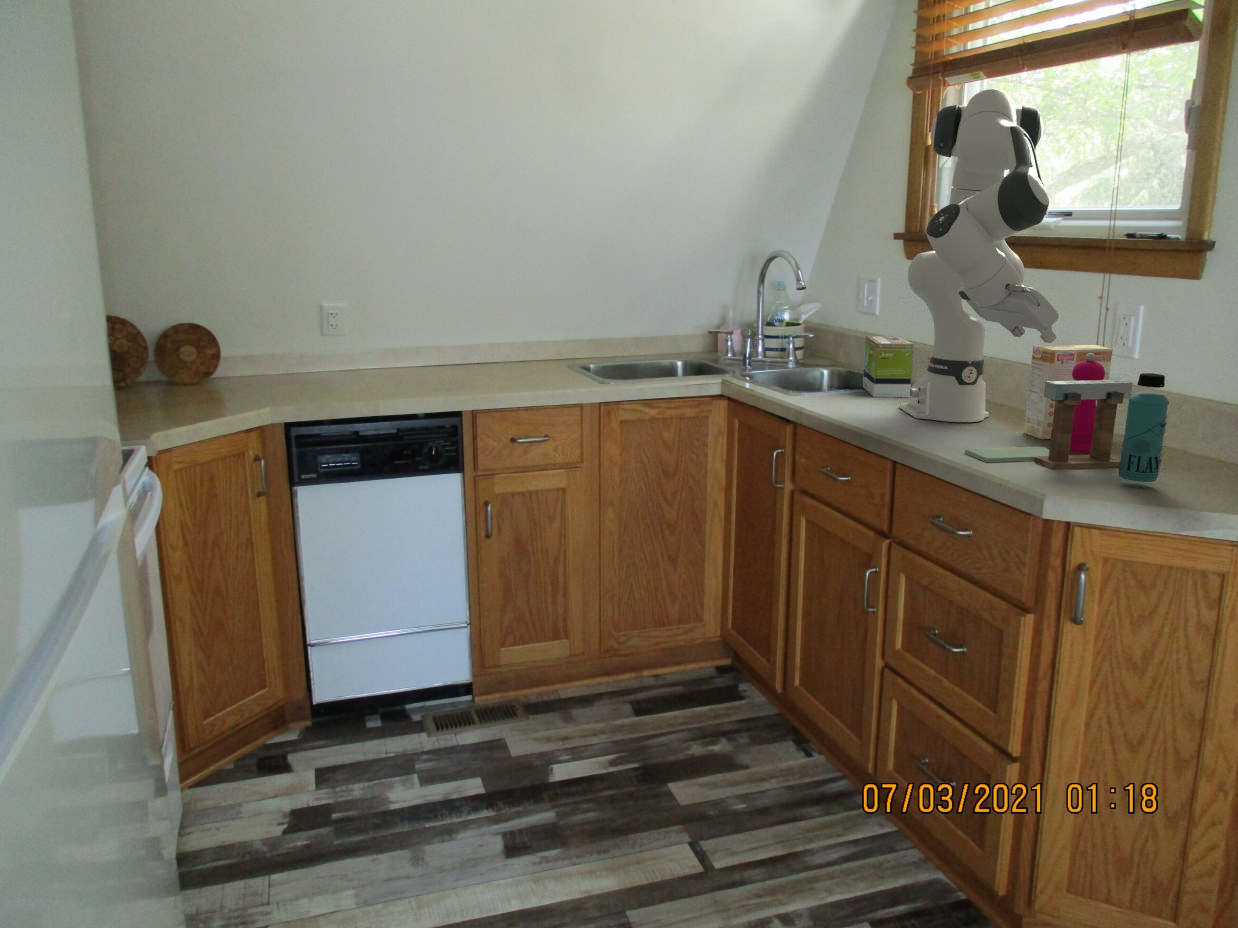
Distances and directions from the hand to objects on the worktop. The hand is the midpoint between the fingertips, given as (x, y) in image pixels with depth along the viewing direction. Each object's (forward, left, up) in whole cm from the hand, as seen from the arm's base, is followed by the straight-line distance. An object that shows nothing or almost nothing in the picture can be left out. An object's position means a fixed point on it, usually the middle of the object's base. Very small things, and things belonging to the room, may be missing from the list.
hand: (1035, 337), depth 180 cm
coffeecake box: (-25, +26, -25) cm, 44 cm away
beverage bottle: (+16, +12, -25) cm, 32 cm away
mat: (-8, +4, -24) cm, 26 cm away
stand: (0, +12, -24) cm, 27 cm away
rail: (0, +12, -11) cm, 17 cm away
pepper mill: (-11, +20, -25) cm, 34 cm away
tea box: (-82, +12, -25) cm, 87 cm away
